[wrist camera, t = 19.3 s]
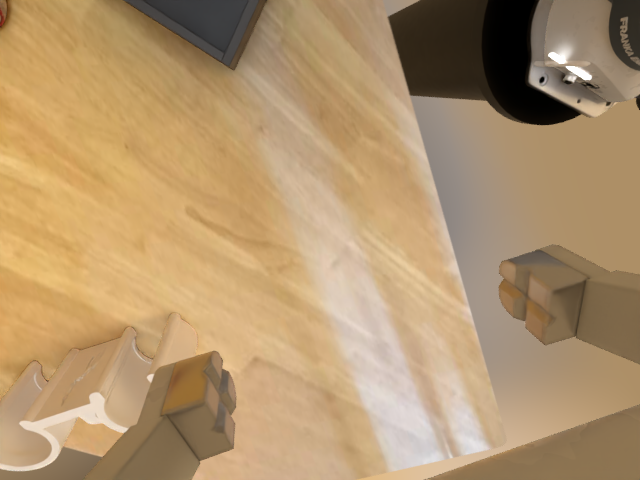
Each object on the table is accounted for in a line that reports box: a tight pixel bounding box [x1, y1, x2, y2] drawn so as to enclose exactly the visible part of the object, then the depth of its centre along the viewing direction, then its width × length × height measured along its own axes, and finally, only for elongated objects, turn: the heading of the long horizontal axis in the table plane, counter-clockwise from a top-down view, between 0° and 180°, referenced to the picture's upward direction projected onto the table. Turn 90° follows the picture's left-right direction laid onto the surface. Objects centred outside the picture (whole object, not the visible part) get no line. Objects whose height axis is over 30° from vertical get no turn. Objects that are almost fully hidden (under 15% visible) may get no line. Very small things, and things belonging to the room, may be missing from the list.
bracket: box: [0, 313, 198, 471], centre depth 46 cm, size 25×10×12 cm, turn 104°
